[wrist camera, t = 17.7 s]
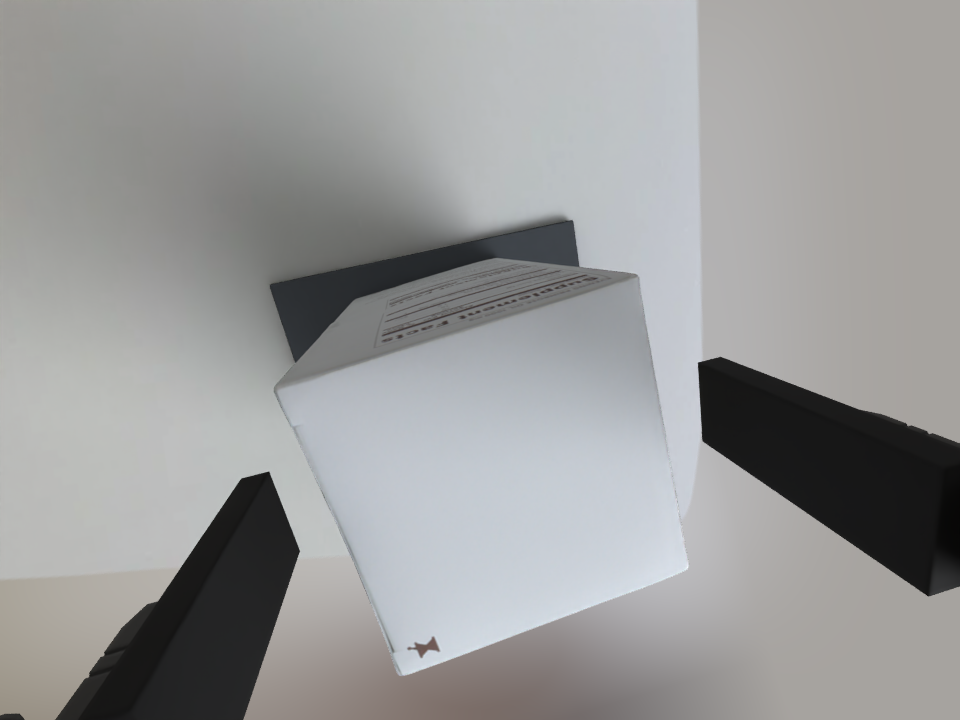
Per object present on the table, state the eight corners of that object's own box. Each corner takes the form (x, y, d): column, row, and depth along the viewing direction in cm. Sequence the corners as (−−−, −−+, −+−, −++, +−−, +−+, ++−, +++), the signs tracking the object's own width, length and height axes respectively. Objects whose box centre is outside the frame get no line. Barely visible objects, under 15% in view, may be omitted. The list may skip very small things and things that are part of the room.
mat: (569, 220, 27) (573, 219, 27) (594, 399, 31) (597, 402, 30) (271, 284, 25) (268, 285, 25) (332, 467, 29) (331, 471, 28)
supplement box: (536, 395, 29) (701, 582, 13) (401, 440, 28) (400, 696, 12) (499, 251, 26) (650, 264, 10) (348, 296, 26) (258, 386, 10)
